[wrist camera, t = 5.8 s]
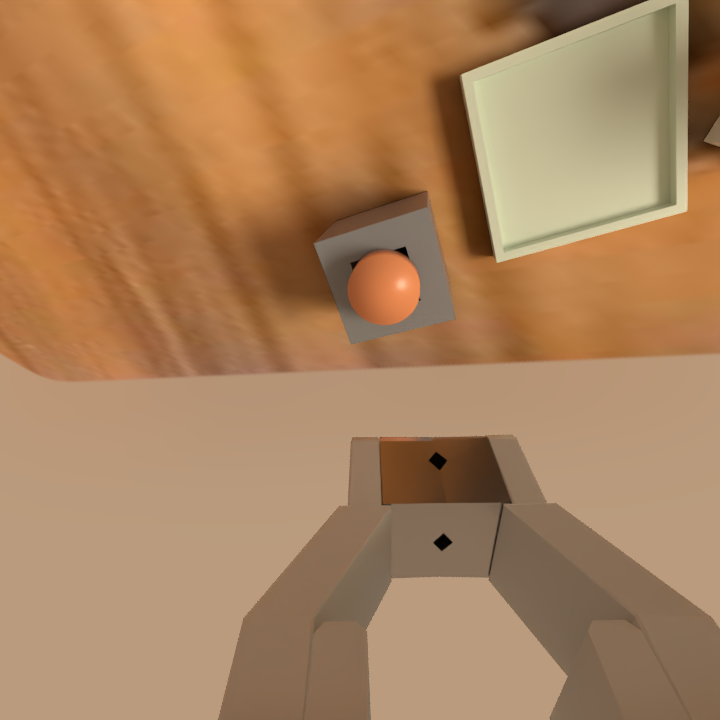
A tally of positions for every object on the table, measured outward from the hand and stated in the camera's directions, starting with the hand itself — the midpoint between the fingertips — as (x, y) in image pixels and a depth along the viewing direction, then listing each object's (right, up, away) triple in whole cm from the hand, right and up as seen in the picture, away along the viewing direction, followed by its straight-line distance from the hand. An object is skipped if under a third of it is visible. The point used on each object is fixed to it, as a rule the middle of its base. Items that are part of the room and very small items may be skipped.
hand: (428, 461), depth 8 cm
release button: (+1, +8, +18) cm, 20 cm away
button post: (+1, +9, +19) cm, 21 cm away
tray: (+10, +14, +15) cm, 23 cm away
